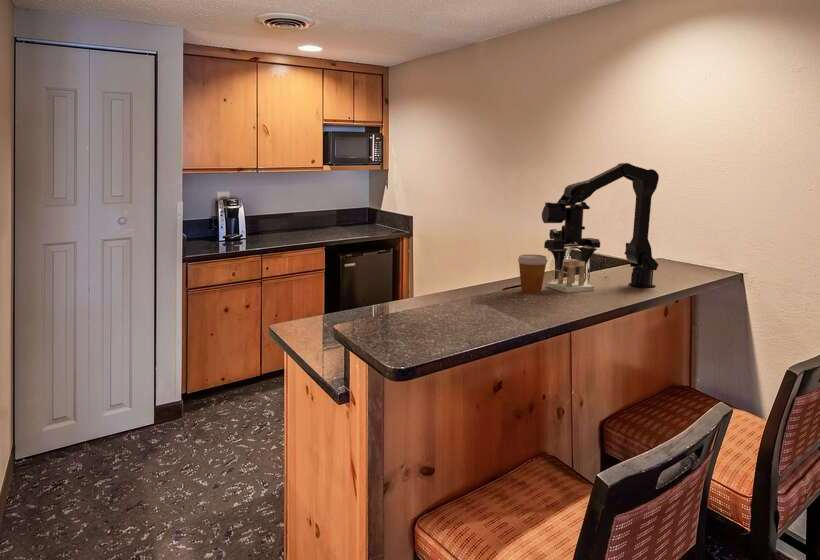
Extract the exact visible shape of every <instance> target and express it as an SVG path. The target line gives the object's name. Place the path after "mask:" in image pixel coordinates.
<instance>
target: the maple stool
mask: <svg viewBox="0 0 820 560" xmlns="http://www.w3.org/2000/svg"><path fill="white" fill-rule="evenodd" d="M565 267H566V268H567V272H566V273H567V274H566V281H567V286H572V283H575V281H576V269H577V268H579V269H578V282H579V283H578V285H584V283H585V269H586V266H585V262H584V261H581V259H580V260H578V259H575V258H574V259H573V258H572V259H571V258H570V259H563V264H562V268H561V270H558V274H557V275H558V276H557V282H558V283H559V284H563V281H564V272H565V271H564V270H565Z"/></svg>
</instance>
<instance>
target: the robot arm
mask: <svg viewBox="0 0 820 560" xmlns="http://www.w3.org/2000/svg"><path fill="white" fill-rule="evenodd" d="M621 178H625V179H626V180H629V181H631V183H632V190H633V192H634V194H635V207H634V219H633V229H632V230H633V233H632V238H631V240H630V242H626V243H625V251H624V255H625V257H626V260H627V261H628V262H629V266H630V267H631V268H632V272H631V276H630V277H631V278H630V279H631V280H630V282H629V283H628V285H629V286H632V287H636V288H640V289H642V288H643V289H644V288H655V287H656V285H655V284H653V280H654V279H653V278H654V271H657V269H658V267H659V263H658V262H657V260H655V259H654V257H653V255H652V253H653V252H652V246H651V244H650V241H649V231H650V229H649V228H650V219H651V218H650V217H651V210H652V209H651V208H652V197H653V195H654V193H655V192H656V190H657V187H658V185H659V179H660V175H659V173H658V172H657V170H655V169H653V168H643V167H639V166H636V165H633V164H631V163H629V162H620V163H618V164H617V165H615V166H613V167H611V168H610V169H607V170H606V171H603V172H602V173H599V174H597V175H595V176H593V177H591V178H589V179H587V180H583V181H579V182H575V183H572V184H568V185H567V186H566V187H564V191H563V194H562V195H561V197H560V198H559V199H558V201H557V202H545V203H544V207H543V209H542V212H541V219H542V223H544V224H562V223H563V222H564V225H562V226H561V230H558V229H557V228H552V229H549V234H548V235H549V239H546V240H545V242H544V246H543V249H547V251H548V252H551V254H552V255H553V256H552V257H553V258H554V260H555V263H556V267H557V270H558V271H559V270H561V268H562V264H563V260H564V258H565V257H564V256H565V250H563V249H564V248H568V247H569V248H570V247H572V248H573V247H579V250H580V252H581V253H580V261H584V262H585V267H586V265H587V263H588V262H589V260H590V259H591V257H592V255H593V254H594V253H595V252H596V251H597V250H598V248H601V241H600V239H599V238H593V237H583V230H585V229H586V226H584V225H583V224H584V223H583V220H584V210H590V209H591V207H590V206H589V205H588V204H587V203H586V200H587V199H589V198H590V197H591V196H592V195H593V194H594V193H595V192H596V191H598V190H599V189H601V188H604V187H606V186H607V185H609V184H611V183H614V182H616V181H618V180H620V179H621Z"/></svg>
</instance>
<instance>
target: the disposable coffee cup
mask: <svg viewBox="0 0 820 560" xmlns="http://www.w3.org/2000/svg"><path fill="white" fill-rule="evenodd" d="M517 261H518V266H519V268H518V269H519V279H520V289H521V293H522V294H525V295H541V293H542V291H543V290H542V289H543V284H544V279H545V278H544V277H545V272H546V265H547V264H548V263H547V262H548V258H547V256H546V255H544V254H543V255H542V254H532V253H531V254H521V255H519V257H518V258H517Z"/></svg>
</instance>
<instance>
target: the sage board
mask: <svg viewBox="0 0 820 560" xmlns="http://www.w3.org/2000/svg"><path fill="white" fill-rule="evenodd" d="M578 283H579V280H575V283H572V286H567V280H563V284H559V283H558V281H549V282H547V283H546V287H547V288H550V289H553V290H557V291H559V292H563V293H565V294H567V293H580V292H591V291H593V292H594V291H595V285H592V284H588V283H585V282H584V285H578Z"/></svg>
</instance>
